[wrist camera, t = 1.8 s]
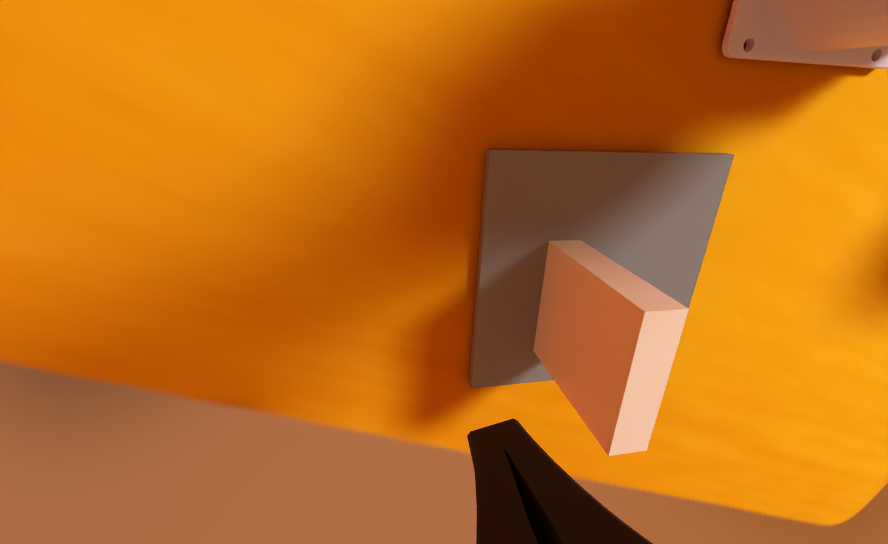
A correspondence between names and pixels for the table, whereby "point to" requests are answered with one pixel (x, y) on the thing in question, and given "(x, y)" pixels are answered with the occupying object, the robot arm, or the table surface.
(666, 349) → the block
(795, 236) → the table surface
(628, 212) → the mat
